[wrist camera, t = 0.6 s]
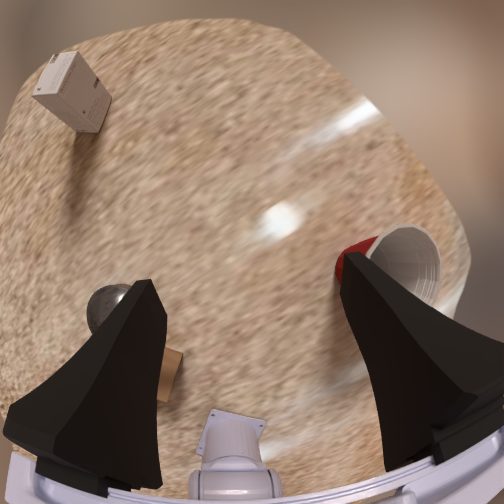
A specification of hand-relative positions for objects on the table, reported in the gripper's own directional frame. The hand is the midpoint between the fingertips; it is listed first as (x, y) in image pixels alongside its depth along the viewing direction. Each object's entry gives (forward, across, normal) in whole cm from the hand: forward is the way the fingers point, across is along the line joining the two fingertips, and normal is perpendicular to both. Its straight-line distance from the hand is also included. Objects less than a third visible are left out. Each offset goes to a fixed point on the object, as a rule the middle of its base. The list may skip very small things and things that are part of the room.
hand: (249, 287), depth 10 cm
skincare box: (+31, +20, -7) cm, 37 cm away
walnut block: (+12, +14, +23) cm, 29 cm away
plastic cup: (+19, -13, +17) cm, 29 cm away
